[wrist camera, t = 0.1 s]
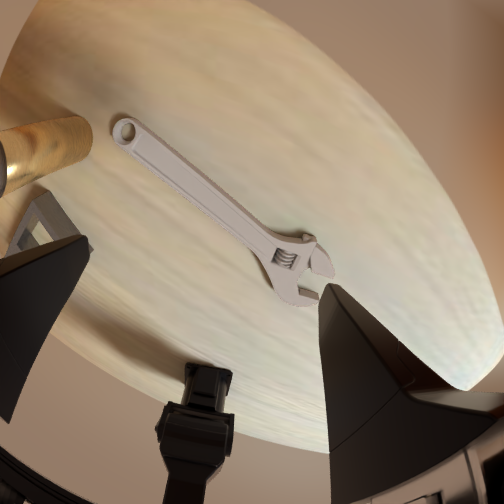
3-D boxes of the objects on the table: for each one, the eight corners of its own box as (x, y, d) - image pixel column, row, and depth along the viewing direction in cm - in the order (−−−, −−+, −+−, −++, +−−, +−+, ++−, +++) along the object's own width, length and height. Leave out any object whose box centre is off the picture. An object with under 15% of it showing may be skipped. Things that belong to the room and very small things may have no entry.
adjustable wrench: (115, 135, 21) (105, 137, 19) (157, 80, 19) (149, 78, 17) (296, 304, 29) (297, 315, 27) (345, 269, 26) (349, 279, 25)
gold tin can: (92, 164, 22) (-5, 212, 11) (57, 162, 21) (-33, 205, 10) (95, 114, 19) (-10, 135, 8) (59, 116, 19) (-38, 140, 8)
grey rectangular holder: (53, 293, 30) (42, 306, 27) (17, 247, 27) (4, 257, 24) (93, 249, 26) (79, 263, 24) (49, 190, 23) (32, 199, 20)
